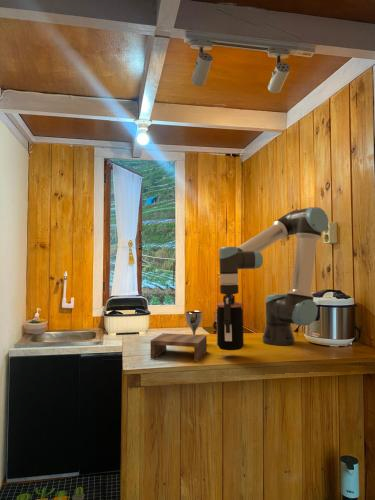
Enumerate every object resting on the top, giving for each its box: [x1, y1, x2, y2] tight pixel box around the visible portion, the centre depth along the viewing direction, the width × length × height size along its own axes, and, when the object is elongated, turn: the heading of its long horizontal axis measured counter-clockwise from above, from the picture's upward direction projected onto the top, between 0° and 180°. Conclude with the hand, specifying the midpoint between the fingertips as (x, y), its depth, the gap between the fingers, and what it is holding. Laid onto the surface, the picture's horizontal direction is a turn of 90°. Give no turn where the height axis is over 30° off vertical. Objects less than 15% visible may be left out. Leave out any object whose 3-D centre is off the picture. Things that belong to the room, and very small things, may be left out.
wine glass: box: [185, 310, 203, 335], centre depth 177 cm, size 8×8×15 cm
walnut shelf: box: [149, 332, 208, 362], centre depth 156 cm, size 20×16×7 cm
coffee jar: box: [216, 301, 245, 351], centre depth 152 cm, size 11×11×18 cm
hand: (230, 337), depth 152 cm, fingers closed on coffee jar, 11 cm apart
